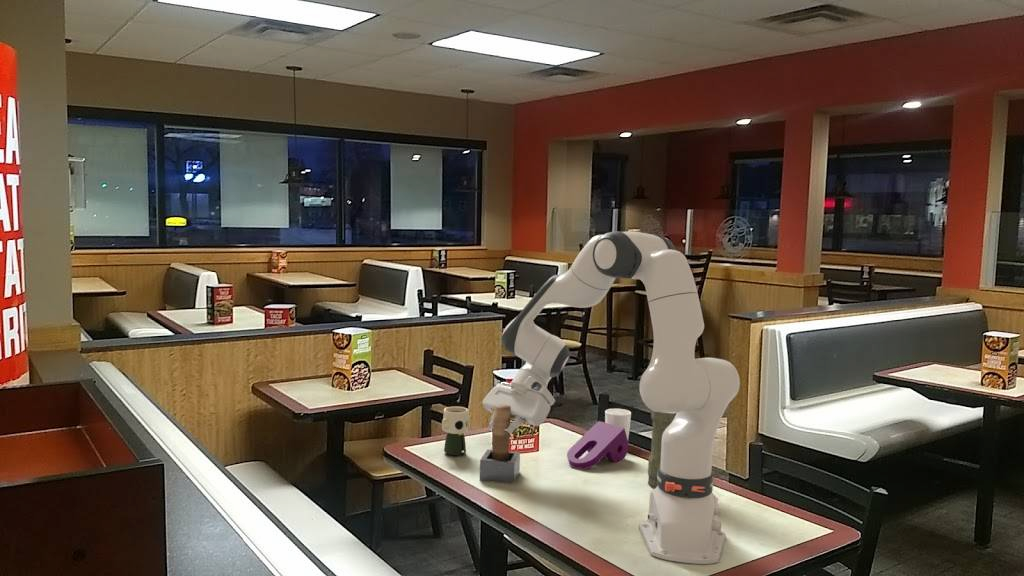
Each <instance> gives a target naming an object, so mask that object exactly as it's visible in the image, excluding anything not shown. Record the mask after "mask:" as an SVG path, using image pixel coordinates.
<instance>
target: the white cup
mask: <svg viewBox="0 0 1024 576" xmlns="http://www.w3.org/2000/svg"><path fill="white" fill-rule="evenodd" d="M604 415H605V416H604V423H608V424H611V425H615V426H618V427H622V428H624V429H625V432H626V436H627V439H628V440H629V435H630V430H631V428H630V427H631V418H632V412H631V411H630V410H628V409H625V408H624V409H623V408H608V409H606V410H604Z"/></svg>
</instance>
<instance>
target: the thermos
mask: <svg viewBox="0 0 1024 576" xmlns="http://www.w3.org/2000/svg"><path fill="white" fill-rule="evenodd" d="M650 413H651V414H650V416H651V417H650V418H651V420H652V430H651V447H650V450H651V451H650V455H649V458H648V464H647V465H648V466H647V467H648V468H647V474H648V475H647V476H648V481H647V484H648V486H649V487H650V488H651V489H653V490H654V489H655V488H656V487H657V486H658V485H657V473H658V468H659V467H660V461H661V443H662V435H663V433H664V431H665V429H666V428H667V427H668V426H669V425H670V424H671V423H672V421H673V420H674V418H675V416H676V414H677V413H673V414H672V413H661V412H655V411H652V410H651V412H650Z"/></svg>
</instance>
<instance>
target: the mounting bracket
mask: <svg viewBox="0 0 1024 576" xmlns="http://www.w3.org/2000/svg"><path fill="white" fill-rule="evenodd" d="M628 451H629V438H628V439H627V436H626V432H625V429H624V428H622V427H618V426H615V425H611V424H608V423H605V421H601V420H598V421H597V422H596V423H595V424H594V425H593V426H592V427H591V428H590V429H589V430H588V431H587V432H586V433H585V434H583V435H582V436H581V438H580V439H578V440H577V441H576V442H575V443H574V444H573V445H572V446H571V447H570V448H569V449H568V451H567V453H566V456H567V460H568V463H569V465H570V466H571V467H573V468H576V469H581V470H582V469H583V470H584V469H585V470H586V469H589V468H591V467H593V466H595V465H597V464H598V463H599V462H600V461H601V460H602V459H603V458H604V457H605V458H606V459H607V460H608V461H610V462H614V463H618V462H622V461H624V460H625V458H626V456H627V455H628ZM586 452H587V453H586ZM585 453H586V454H585ZM584 454H585V455H584ZM583 455H584V456H583ZM582 456H583V457H582ZM580 457H581V458H580Z"/></svg>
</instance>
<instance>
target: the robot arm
mask: <svg viewBox="0 0 1024 576" xmlns="http://www.w3.org/2000/svg"><path fill="white" fill-rule="evenodd" d="M691 269H692V268H691V267H690V265H689V261H688V259H687V257H686V256H685V255H684V253H682V252H681V251H679V250H676V247H675V246H674V243H673V242H672V241H671V240H670V239H668V238H667V237H665V236H662V235H660V234H656V233H655V234H654V233H651V234H650V233H647V232H640V231H633V230H631V231H630V230H629V231H619V230H615V231H610V232H609V231H608V232H606V233H604V234H597V235H595V236H592V237H591V238H590V239H589V240H588V241H587V242H586V244H585V245H584V247H582V249H581V250H580V251H579V253H578V255H577V256H576V257H575V259H574V261H573V263H572V264H571V266H570V267H569V269H568V270H567V271H566V272H564V273H562V274H561V275H560V274H553V275H552V276H551V277H549V278H548V279H547V280H546V282H544V284H543V285H542V286H541V287H540V288H539V289H537V292H536V293H534V295H533V296H532V297H531V299H530V300H529V301H528V302H527V304H526V305H525V306H524V308H522V310H521V312H519V313H518V315H516V317H514V319H512V320H510V322H509V323H508V324H507V325H506V326H505V328H504V329H503V331H502V334H501V337H500V338H501V343H502V345H503V349H504V351H506V352H508V353H510V354H512V355H514V356H517V357H518V358H520V359H521V360H523V361H525V364H524V365H523V366H522V367H520V368H519V370H518V371H517V372H516V375H515V376H514V377H513V379H512V381H511V382H507V381H502V382H500V383H497V384H496V385H495V386H494V387H492V389H491V390H490V391H489V392H488V393H487V395H486V396H485V397H484V398H483V400H482V406H483V408H484V409H485V410H486V411H487V412H489V413H492V414H491V421H490V422H489V423H488V425H489V427H490V428H492V429H493V418H494V405H498V404H504V405H509V406H511V412H510V419H512V420H514V421H513V422H510V425H508V424H507V426H506V427H505V429H504V430H505V431H506V433H509V434H510V435H512V433H513V432H514V431H515V430H516V429H517V428H519V427H521V426H522V425H523V423H525V424H529V425H532V426H534V427H539V426H540V425H543V423H544V421H545V420H546V418H547V417H548V415H549V413H550V411H551V406H553V405H554V404H555V402H556V399H555V398H554V396H553V395H552V393H551V392H550V390H549V389H548V386H549V385H548V384H549V382H550V381H551V379H552V378H556V377H558V376H560V375H561V372H562V371H563V369H564V367H566V365H567V363H568V362H569V361H570V358H571V355H570V350H569V346H568V344H567V343H565V342H564V340H563V339H561V338H560V337H558V336H556V335H554V334H551V333H550V332H548V331H547V330H545V329H543V328H542V327H540V326H538V325H537V324H535V321H534V320H535V319H536V317H537V316H538V315H539V314H540V313H541V312H542V310H543V309H544V308H545V307H546V306H547V305H550V304H555V305H556V304H557V305H565V306H569V307H573V308H579V309H582V308H583V309H585V308H586V309H587V308H591V307H594V306H596V305H598V304H600V303H601V301H602V300H603V299H604V298H605V296H606V295H607V294H608V292H609V291H610V289H611V287H612V286H613V283H614V282H615V280H616V279H627V280H628V279H629V280H640V281H641V282H642V283H643V285H644V287H645V292H646V299H647V303H648V309H649V312H650V313H649V314H650V319H651V326H652V327H651V328H652V332H653V349H652V353H651V359H650V361H649V363H648V366H647V368H646V369H645V371H644V372H643V373H642V375H641V377H640V381H639V386H638V387H639V394H640V397H641V399H642V402H643V404H644V405H645V406H646V407H647V408H648V409H649V410H650V411H651V412H652V411H655V412H661V413H672V414H673V413H677V414H676V416H675V418H674V420H673V421H672V423H671V424H670V425H669V426H668V427H667V428H666V429H665V431H664V433H663V435H662V443H661V461H660V467H659V468H658V473H657V485H658V486H657V487H656V488H655V489H654V488H653V490H652V491H650V492H649V501H648V511H647V512H648V513H647V520H645V521H641V522H639V525H638V529H639V532H640V535H641V536H642V538H643V540H644V543H645V545H646V547H647V550H648V551H649V554H650V555H651V556H654V557H656V558H658V559H661V560H662V559H663V560H666V561H669V562H670V561H671V562H677V563H684V564H685V563H686V564H697V565H698V564H699V565H701V564H702V565H705V564H706V565H709V564H717V563H719V562H720V559H721V557H722V552H723V549H724V545H725V541H726V537H727V536H726V531H725V530H723V529H722V521H721V520H717V519H718V516H720V514H721V509H719V508H718V502H719V500H718V499H719V498H718V497H717V496H716V495H715V494H714V493H713V487H714V474H713V472H712V466H713V455H714V454H713V452H714V443H715V438H716V434H717V432H718V428H719V426H720V422H721V420H722V418H723V416H724V413H725V411H726V409H727V408H728V406H729V404H730V402H731V401H732V400H734V398H736V396H737V395H738V393H739V390H740V386H741V385H740V384H741V379H740V375H739V372H738V370H737V368H736V367H735V366H734V364H733V363H731V362H730V361H728V360H727V359H726V360H725V359H722V358H717V357H700V358H695V357H696V356H695V353H696V352H695V351H696V345H697V344H696V343H697V340H698V338H699V337H701V335H702V334H703V332H704V329H705V323H704V318H703V317H704V316H703V311H702V307H701V303H700V298H699V294H698V288H697V285H696V281H695V277H694V275H693V272H692V270H691Z"/></svg>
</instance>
